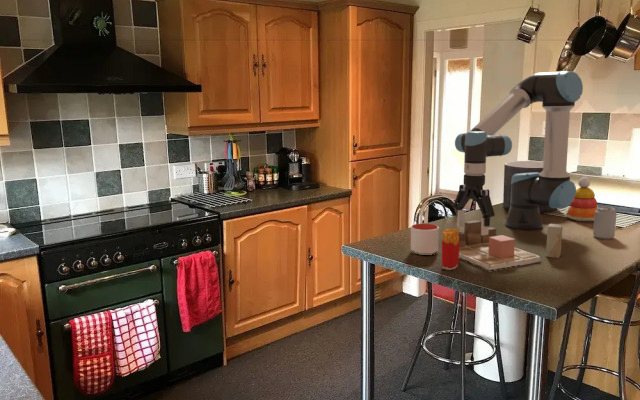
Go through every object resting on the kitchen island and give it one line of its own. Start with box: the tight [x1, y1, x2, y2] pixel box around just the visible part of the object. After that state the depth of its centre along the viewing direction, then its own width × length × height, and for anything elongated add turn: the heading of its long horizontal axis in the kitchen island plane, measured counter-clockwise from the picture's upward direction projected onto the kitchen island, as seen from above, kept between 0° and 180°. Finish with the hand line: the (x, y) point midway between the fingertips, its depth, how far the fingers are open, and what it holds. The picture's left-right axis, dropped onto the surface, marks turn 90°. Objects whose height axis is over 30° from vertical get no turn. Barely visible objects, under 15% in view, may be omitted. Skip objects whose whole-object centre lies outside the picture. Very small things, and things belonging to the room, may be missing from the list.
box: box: [545, 223, 563, 259], centre depth 182 cm, size 5×4×11 cm
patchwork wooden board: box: [459, 226, 536, 265], centre depth 184 cm, size 22×20×6 cm
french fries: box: [441, 227, 460, 268], centre depth 173 cm, size 9×4×13 cm, turn 143°
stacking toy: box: [565, 176, 598, 222], centre depth 231 cm, size 14×14×20 cm
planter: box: [502, 160, 558, 214], centre depth 256 cm, size 25×25×22 cm
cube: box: [488, 234, 516, 258], centre depth 179 cm, size 6×6×6 cm
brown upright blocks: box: [463, 219, 519, 262], centre depth 183 cm, size 22×6×10 cm, turn 23°
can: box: [592, 206, 618, 240], centre depth 203 cm, size 8×8×12 cm
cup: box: [410, 223, 440, 253], centre depth 190 cm, size 10×10×10 cm
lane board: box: [459, 244, 542, 270], centre depth 184 cm, size 24×22×2 cm
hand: (472, 230), depth 192 cm, fingers open, 13 cm apart
